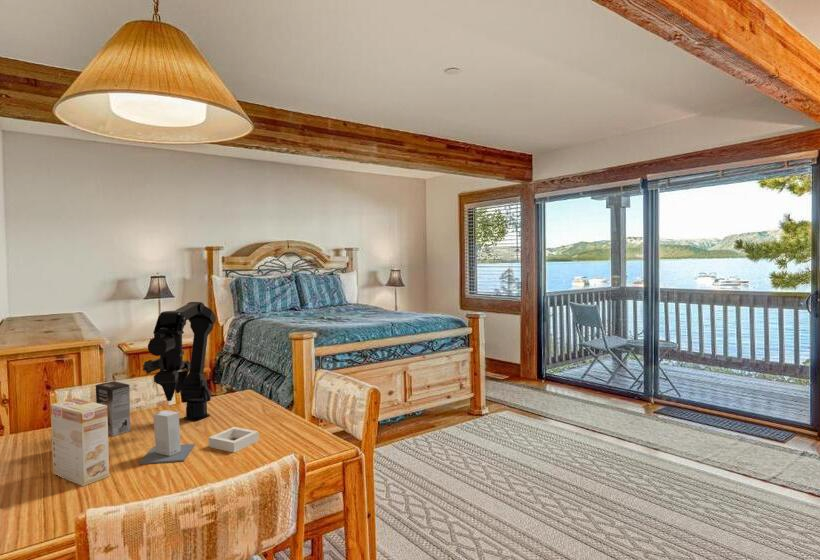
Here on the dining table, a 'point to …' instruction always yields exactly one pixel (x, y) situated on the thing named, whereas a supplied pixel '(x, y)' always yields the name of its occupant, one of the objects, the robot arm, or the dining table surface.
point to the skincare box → (167, 432)
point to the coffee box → (115, 405)
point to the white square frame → (242, 441)
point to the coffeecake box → (80, 441)
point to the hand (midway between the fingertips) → (173, 396)
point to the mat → (160, 458)
